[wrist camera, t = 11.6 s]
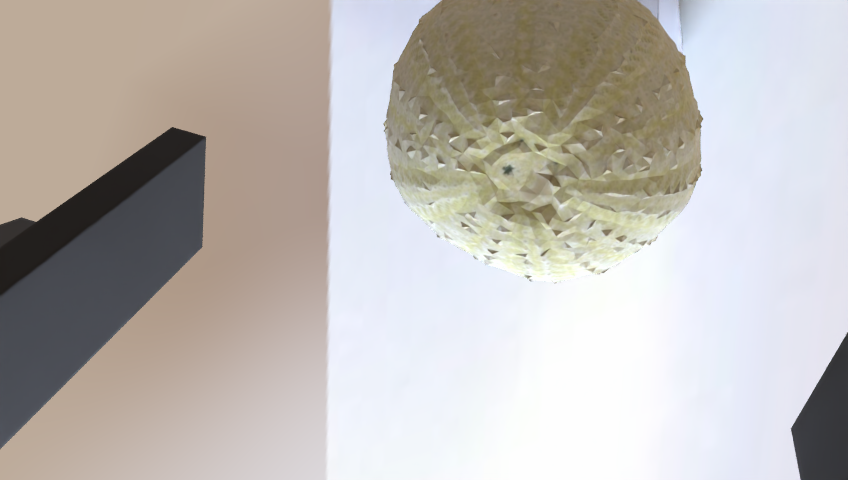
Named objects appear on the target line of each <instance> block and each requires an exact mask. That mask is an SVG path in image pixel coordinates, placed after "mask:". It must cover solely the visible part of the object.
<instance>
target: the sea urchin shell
mask: <svg viewBox="0 0 848 480" xmlns="http://www.w3.org/2000/svg"><path fill="white" fill-rule="evenodd" d="M702 120H703V118H702V116H701V115H700V111H699V110H698V106H697V101H696V100H695V98H694V95H693V90H692V86H691V82H690V77H689V72H688V70H687V68H686V66H685V56H684V55H683V54H682V53H681V52H680V51H678V49H677V46H676V43H675V42H674V41H673V40H672V39H671V38H670V36H669V35H668V34H667V32H666V31H665V29H664V28H663V26H662V25H661V23H660V22H659V21H658V20H657V18H656V17H655V16H654V15H653V14H652V13H651V11H650V10H649V9H648V8H647V7H645V6H644V5H642V4H641V3H640V2H638V1H637V0H442V1H441V2H439V3H438V4H437V5H436V6H435V7H434V8H433V9H432V10H430V11H429V12H428V13H427V14H425V15H424V16H422V17H421V19H419V24H418V26H417V27H416V28H415V30H414V31H413V33H412V35H411V37H410V39H409V41H408V43H407V45H406V47H405V49H404V51H403V53H402V54H401V56H400V58H399V61H398V62H397V63H396V64H394V70H393V80H392V89H391V94H390V102H389V106H388V111H387V120H386V121H385V122H384V126H385V128H386V129H385V130H384V132H385V134H386V140H387V150H388V157H389V162H390V167H391V173H390V175H391V179H392V180H394V182H395V185H396V187H397V188H398V190H399V192H400V194H401V196H402V198H403V200H404V202H405V203H406V204H407V206H408V207H409V208H410V209H411V210H412V211H413V212H414V213H415V214H416V215H417V216H418V217H419V218H421V219H422V220H423V221H424V222H425V223H426V224H427V225H428V226H429V227H430V228H431V229H432V230H433V231H434V232H435V233H436V234H437V237H439V238H441V239H443V240H445V241H447V242H448V243H450V244H452V245H454V246H456V247H457V248H460V249H462V250H464V251H466V252H467V253H469V254H471V255H473V257H474V258H475V259H479V260H481V261H482V262H483V263H484V264H485V265H489V266H493V267H497V268H500V269H503V270H505V271H508V272H512V273H514V274H516V275H519V276H522V277H525V278H527V279H529V281H536V280H540V281H552V282H553V283H557V282H561V281H565V280H569V279H573V278H578V277H581V276H585V275H590V274H600V273H604V272H605V271H607V270H608V269H609V268H611V267H613V266H615V265H618V264H619V263H620V262H621V261H622V260H624V259H625V258H627V257H629V256H630V255H632V254H634V253H636V252H638V251H639V250H640V249H642V248H643V247H645V246H649V245H650V244H651V242H653V241H655V240H656V238H657V236H658V234H659V233H660V232H661V231H662V230H663V229H664V228H665V227H666V226H667V225H668V224H669V223H670V222H671V221H672V220H674V219H675V218H676V217H677V216H678V215H679V214H680V213H681V211H682V210H683V209H684V208H685V206H686V205H687V204H688V202H689V199H690V197H691V195H692V192H693V190H694V187H695V185H696V181H698V178H699V177H700V176H701V173H700V172H701V171H702V169H701V164H700V162H701V150H700V136H701V130H700V129H701V125H700V124H701V122H702Z"/></svg>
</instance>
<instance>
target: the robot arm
mask: <svg viewBox="0 0 848 480" xmlns="http://www.w3.org/2000/svg"><path fill="white" fill-rule="evenodd" d="M205 149H206V137H205V136H201V135H198V134H194V133H191V132H187V131H184V130H180V129H176V128H173V127H172V128H170V129H169V130H167V131H166V132H165V133H163V134H162V135H161V136H159V137H157V138H156V139H155V140H153V141H152V142H150V143H149V144H147V145H146V146H145V147H143V148H142V149H140V150H139V151H137V152H136V153H134V154H133V155H132V156H130V157H129V158H127V159H126V160H125V161H123V162H122V163H120V164H119V165H117V166H116V167H115V168H113V169H112V170H110V171H109V172H107V173H106V174H105V175H103V176H102V177H100V178H99V179H97V180H96V181H95V182H93V183H92V184H90V185H89V186H88V187H86V188H84V189H83V190H82V191H80V192H79V193H77V194H76V195H74V196H73V197H72V198H70V199H69V200H67V201H66V202H64V203H63V204H62V205H60V206H59V207H57V208H56V209H54V210H53V211H52V212H50V213H49V214H47V215H46V216H44V217H43V218H42V219H40V220H39V221H37V222H34V221H31V220H28V219H25V218H19V219H16V220H13V221H10V222H7V223H4V224H1V225H0V448H2V447H3V446H4V445H5V444H6V443H7V442H8V441H9V440H10V439H11V438H12V437H13V436H14V435H15V434H16V433H17V432H18V431H19V430H20V429H21V428H22V427H23V426H24V425H25V424H26V423H27V422H28V421H29V420H30V419H31V418H32V416H34V415H35V414H36V413H37V412H38V411H39V410H40V409H41V408H42V407H43V405H45V404H46V403H47V402H48V401H49V400H50V399H51V398H52V397H53V396H54V395H55V394H56V393H57V392H58V391H59V390H60V389H61V388H62V387H63V386H64V385H65V384H66V383H67V381H69V380H70V379H71V378H72V377H73V376H74V375H75V374H76V373H77V372H78V370H80V369H81V368H82V367H83V366H84V365H85V364H86V363H87V362H88V361H89V360H90V359H91V358H92V357H93V356H94V355H95V354H96V353H97V352H98V351H99V350H100V349H101V348H102V347H103V346H104V345H105V344H106V342H108V341H109V340H110V339H111V338H112V337H113V336H114V335H115V334H116V333H117V332H118V331H119V330H120V329H121V327H123V326H124V325H125V324H126V323H127V321H129V320H130V319H131V318H132V317H133V316H134V315H135V314H136V313H137V312H138V311H139V310H140V309H141V308H142V307H143V306H144V305H145V304H146V303H147V302H148V301H149V300H150V298H152V297H153V296H154V295H155V294H156V293H157V292H158V291H159V290H160V289H161V288H162V287H163V286H164V285H165V284H166V283H167V282H168V280H170V279H171V278H172V277H173V276H174V275H175V274H176V273H177V272H178V271H179V270H180V268H182V266H183V265H185V263H187V262H188V260H190V259H191V257H193V256H194V255H195V254H196V253H197V251H198V250H200V249H201V248H202V237H203V208H204V177H205ZM791 431H792V436H793V441H794V447H795V452H796V457H797V463H798V468H799V473H800V478H801V480H848V333H847V334H846V336H845V338H844V340H843V341H842V343H841V345H840V346H839V348H838V350H837V351H836V353H835V355H834V357H833V358H832V360H831V362H830V363H829V365H828V367H827V368H826V370H825V372H824V374H823V375H822V377H821V379H820V380H819V382H818V384H817V385H816V387H815V389H814V391H813V392H812V394H811V396H810V397H809V399H808V401H807V402H806V404H805V406H804V407H803V409H802V411H801V413H800V414H799V416H798V418H797V419H796V421H795V423H794V424H793V426H792V428H791Z"/></svg>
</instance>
